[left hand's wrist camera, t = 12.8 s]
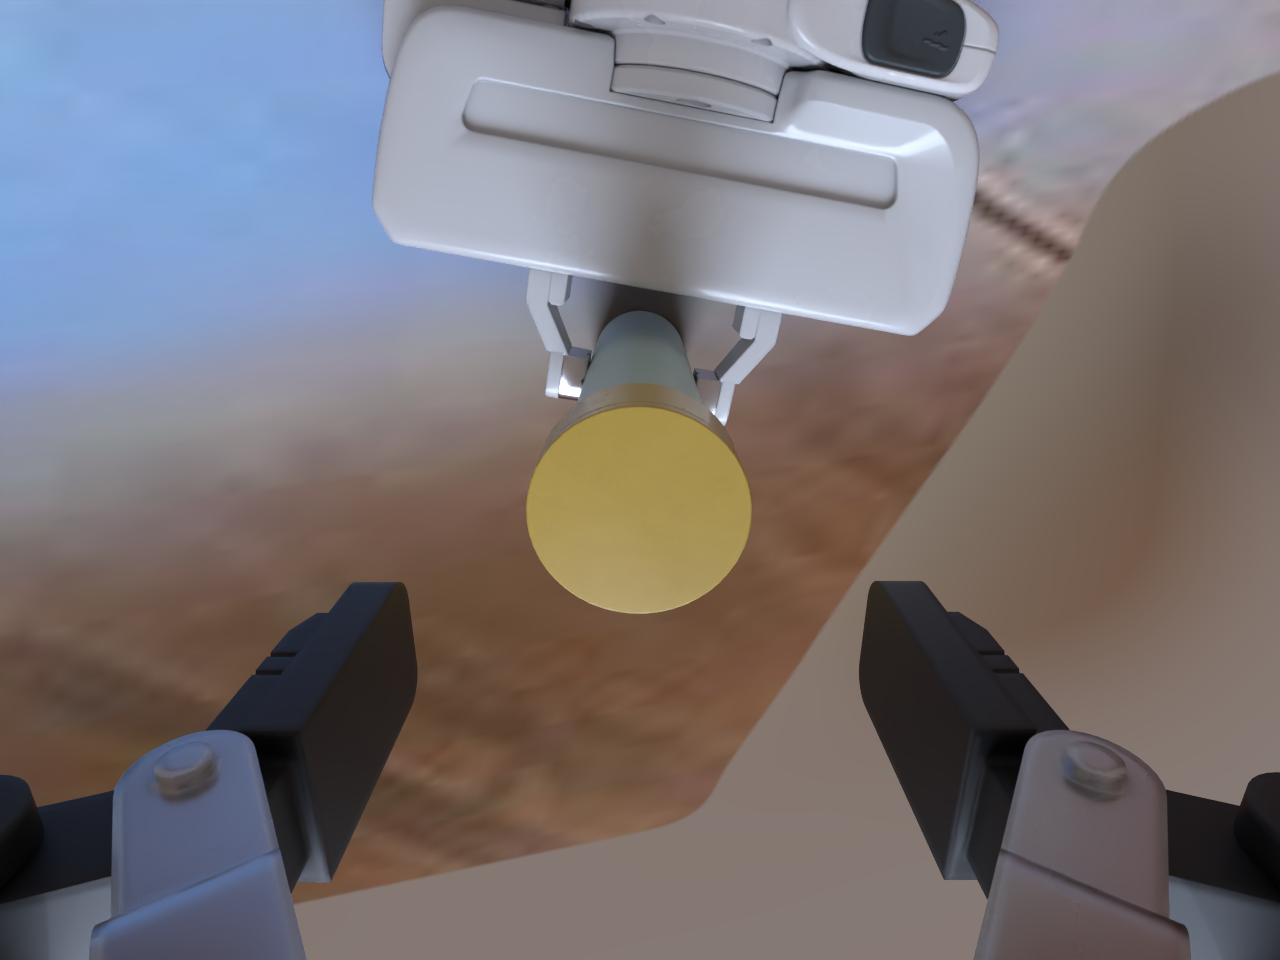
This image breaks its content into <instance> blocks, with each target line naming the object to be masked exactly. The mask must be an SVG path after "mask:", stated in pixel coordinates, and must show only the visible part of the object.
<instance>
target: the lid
mask: <svg viewBox="0 0 1280 960" xmlns="http://www.w3.org/2000/svg"><path fill="white" fill-rule="evenodd" d="M526 518H527V525H528V530H529V535H530V538H531V541H532V544H533V547H534V549H535V551H536V553H537V555H538V557H539V559H540V560H541V562H542V563H543V565H544V566H545V567H546V569H547V570H548V571H549V573H550V574H551V575H552V576H553V577H554V578H555V579H556V580H557V581H558V582H559V583H560V584H561V585H562V586H563V587H565V588H566V589H567V590H568V591H570V592H571V593H573V594H574V595H576V596H577V597H579V598H581V599H583V600H585V601H587V602H589V603H591V604H593V605H596V606H599V607H601V608H604V609H608V610H612V611H617V612H624V613H654V612H661V611H666V610H670V609H674V608H677V607H680V606H682V605H685V604H687V603H689V602H691V601H694V600H696V599H698V598H699V597H701V596H702V595H704V594H705V593H707V592H709V591H710V590H711V589H712V588H714V587H715V586H716V585H717V584H718V583H719V582H721V580H722V579H723V578H724V577H725V576H726V575H727V574H728V573H729V572H730V570H731V569H732V568H733V566H734V565H735V563H736V562H737V560H738V559H739V557H740V555H741V553H742V551H743V549H744V547H745V544H746V541H747V538H748V535H749V531H750V526H751V518H752V501H751V493H750V488H749V484H748V480H747V478H746V475H745V472H744V470H743V467H742V465H741V462H740V459H739V457H738V454H737V452H736V449H735V447H734V444H733V442H732V440H731V438H730V436H729V434H728V432H727V430H726V429H725V427H724V426H723V425H722V423H721V422H720V421H719V419H718V418H717V417H716V416H715V415H714V414H713V413H712V412H711V411H710V410H709V409H708V408H707V407H706V406H704V405H703V404H702V403H700V402H699V401H698V400H696V399H694V398H693V397H691V396H689V395H688V394H685V393H683V392H681V391H678V390H676V389H673V388H670V387H666V386H662V385H657V384H650V383H629V384H620V385H616V386H612V387H608V388H605V389H602V390H600V391H597V392H595V393H593V394H591V395H589V396H587V397H586V398H584V399H582V400H581V401H579V402H578V403H577V404H575V405H574V406H573V407H571V408H570V409H569V410H568V411H567V412H566V413H565V414H564V415H563V416H562V417H561V418H560V420H559V421H558V422H557V424H556V425H555V426H554V428H553V429H552V431H551V433H550V435H549V436H548V438H547V440H546V443H545V445H544V448H543V450H542V453H541V455H540V458H539V460H538V462H537V465H536V467H535V470H534V472H533V475H532V477H531V480H530V484H529V488H528V492H527V501H526Z"/></svg>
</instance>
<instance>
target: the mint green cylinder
mask: <svg viewBox="0 0 1280 960" xmlns="http://www.w3.org/2000/svg"><path fill="white" fill-rule="evenodd" d="M629 383H650V384H657V385H662V386H666V387H670V388H673V389H676V390H678V391H681V392H683V393H685V394H688V395H689V396H691V397H693V398H694V399H696V400H698V401H699V402H700V403H702V402H701V399H700V396H699V392H698V389H697V386H696V383H695V380H694V377H693V374H692V371H691V368H690V364H689V361H688V358H687V355H686V352H685V349H684V346H683V343H682V340H681V337H680V335H679V333H678V332H677V330H676V329H675V327H674V326H673V325H672V324H671V323H670V322H669V321H667V320H666V319H665V318H663V317H662V316H660V315H658V314H655V313H652V312H648V311H631V312H627V313H624V314H622V315H619V316H618V317H616V318H614V319H613V320H612V321H610V322H609V323H608V324H607V325H606V327H605V328H604V329H603V330H602V332H601V334H600V336H599V338H598V341H597V343H596V346H595V350H594V353H593V356H592V359H591V362H590V365H589V368H588V371H587V374H586V377H585V380H584V383H583V386H582V389H581V392H580V395H579V398H578V401H577V403H578V402H579V401H581V400H582V399H584V398H586V397H587V396H589V395H591V394H593V393H595V392H597V391H600V390H602V389H605V388H608V387H612V386H616V385H620V384H629Z"/></svg>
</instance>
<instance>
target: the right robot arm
mask: <svg viewBox="0 0 1280 960" xmlns="http://www.w3.org/2000/svg"><path fill="white" fill-rule="evenodd" d="M567 9H568V10H569V17H568V27H567ZM998 42H999V30H998V26H997V24H996V22H995V21H994V19H993V18H992V17H991V16H990V15H989V14H988V13H987V12H986V11H985V10H983V9H982V8H981V7H979V6H978V5H977V4H975V3H973V2H972V1H970V0H384V8H383V31H382V56H383V62H384V66H385V69H386V72H387V74H388V77H389V79H390V82H389V86H388V91H387V95H386V100H385V105H384V110H383V116H382V121H381V127H380V133H379V140H378V147H377V154H376V162H375V171H374V181H373V194H372V207H373V211H374V213H375V216H376V217H377V219H378V220H379V222H380V223H381V225H382V227H383V228H384V230H385V231H386V233H387V235H388V236H389V237H390V239H391V240H392V241H393V242H395V243H396V244H400V245H405V246H410V247H416V248H421V249H427V250H433V251H438V252H444V253H449V254H455V255H460V256H466V257H472V258H477V259H483V260H488V261H494V262H500V263H505V264H511V265H516V266H522V267H527V268H529V277H528V285H527V294H526V302H527V305H528V307H529V309H530V312H531V314H532V316H533V319H534V321H535V324H536V326H537V328H538V331H539V333H540V335H541V338H542V340H543V343H544V345H545V347H546V350H547V351H550V358H549V366H548V373H547V381H546V389H545V395H546V396H549V397H554V398H562V399H568V400H575V401H578V398H579V395H580V392H581V389H582V386H583V383H584V380H585V377H586V374H587V371H588V368H589V365H590V360H591V353H592V350H587V349H582V348H577V347H572V345H571V342H570V339H569V337H568V334H567V331H566V329H565V326H564V324H563V321H562V318H561V316H560V313H559V310H558V308H557V305H558V306H562V305H563V304H564V303H565V302H566V301H567V299H568V298H569V297H570V291H571V284H572V277H573V276H578V277H583V278H589V279H594V280H600V281H606V282H611V283H617V284H622V285H628V286H634V287H639V288H645V289H650V290H656V291H661V292H667V293H673V294H678V295H684V296H689V297H695V298H701V299H706V300H712V301H717V302H723V303H728V304H734V305H737V306H736V311H735V316H734V321H733V327H734V329H735V330H736V332H737V333H738V334H739V335H740V336H741V337H742V338H741V339H740V340H739V342H738V343H737V344H736V345H735V346H734V347H733V349H732V350H731V351H730V352H729V353H728V354H727V356H726V357H725V358H724V359H723V360H722V362H721V363H720V364H719V365H718V366H717V367H716V369H715V371H710V370H703V369H697V368H694V372H693V377H694V380H695V383H696V386H697V389H698V392H699V396H700V399H701V402H702V404H703V405H704V406H706V407H707V408H708V409H709V410H710V411H711V412H712V413H713V414H714V415H715V416H716V417H717V418H718V419H719V421H720V422H721V423H722V425H723V426H725V424H726V422H727V419H728V415H729V410H730V406H731V401H732V397H733V393H734V388H735V384H739V383H740V382H741V381H742V380H743V379H744V378H745V377H746V376H747V375H748V373H749V372H750V371H751V370H752V369H753V368H754V367H755V366H756V365H757V364H758V363H759V362H760V361H761V359H762V358H763V357H764V356H765V355H766V354H767V353H768V352H769V351H770V350H771V349H772V348H773V346H774V345H775V343H776V339H777V335H778V331H779V327H780V323H781V318H782V314H783V313H784V314H790V315H795V316H801V317H807V318H812V319H818V320H823V321H829V322H835V323H840V324H846V325H851V326H857V327H862V328H868V329H874V330H879V331H885V332H891V333H896V334H902V335H908V336H912V335H915V334H917V333H919V332H920V331H921V330H923V329H924V328H925V327H927V326H928V325H929V324H930V323H931V322H932V321H934V320H935V319H936V318H937V317H938V316H939V315H941V313H942V312H943V311H944V309H945V307H946V305H947V302H948V300H949V297H950V294H951V292H952V289H953V285H954V282H955V279H956V275H957V272H958V268H959V264H960V261H961V257H962V253H963V249H964V245H965V241H966V237H967V232H968V228H969V223H970V218H971V214H972V208H973V203H974V197H975V192H976V186H977V180H978V172H979V144H978V138H977V134H976V131H975V128H974V126H973V124H972V122H971V120H970V118H969V117H968V116H967V114H966V113H965V112H964V111H963V110H962V109H961V108H960V107H959V106H958V105H956V104H955V103H953V102H954V101H956V100H958V99H961V98H963V97H965V96H966V95H968V94H970V93H971V92H973V91H975V90H976V89H977V88H979V87H980V86H981V85H982V83H983V82H984V81H985V79H986V77H987V75H988V73H989V71H990V69H991V66H992V64H993V61H994V58H995V53H996V51H997V47H998Z"/></svg>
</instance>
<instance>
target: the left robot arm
mask: <svg viewBox="0 0 1280 960" xmlns="http://www.w3.org/2000/svg"><path fill="white" fill-rule="evenodd" d="M859 681H860V689H861V694H862V699H863V702H864V705H865V707H866V709H867V711H868V714H869V716H870V718H871V720H872V722H873V725H874V727H875V729H876V731H877V733H878V736H879V738H880V740H881V742H882V744H883V747H884V749H885V751H886V753H887V755H888V757H889V760H890V762H891V764H892V766H893V769H894V771H895V773H896V775H897V777H898V779H899V782H900V784H901V786H902V788H903V790H904V793H905V795H906V797H907V799H908V801H909V804H910V806H911V808H912V810H913V812H914V815H915V817H916V819H917V821H918V823H919V826H920V828H921V830H922V832H923V834H924V837H925V839H926V841H927V843H928V845H929V848H930V850H931V852H932V854H933V856H934V859H935V861H936V863H937V865H938V867H939V870H940V872H941V874H942V876H943V878H944V880H978V882H979V884H980V886H981V888H982V890H983V892H984V894H985V896H986V898H987V900H988V901H987V906H986V910H985V914H984V918H983V922H982V926H981V930H980V935H979V939H978V943H977V947H976V951H975V955H974V959H973V960H1280V773H1279V772H1274V773H1265V774H1261V775H1258V776H1256V777H1254V778H1252V780H1251V781H1250V782H1249V783H1248V786H1247V788H1246V791H1245V794H1244V797H1243V799H1242V802H1241V805H1240V806H1237V805H1233V804H1228V803H1224V802H1219V801H1215V800H1210V799H1205V798H1201V797H1196V796H1192V795H1187V794H1183V793H1178V792H1173V791H1169V790H1166V789H1165V787H1164V785H1163V783H1162V781H1161V780H1160V778H1159V777H1158V775H1157V774H1156V773H1155V772H1154V771H1153V770H1152V769H1151V768H1150V767H1149V766H1148V765H1147V764H1146V763H1145V762H1143V761H1142V760H1141V759H1140V758H1138V757H1137V756H1135V755H1134V754H1133V753H1131V752H1129V751H1128V750H1126V749H1124V748H1122V747H1121V746H1119V745H1117V744H1114V743H1112V742H1110V741H1108V740H1105V739H1102V738H1100V737H1097V736H1094V735H1090V734H1087V733H1082V732H1077V731H1070V730H1069V728H1068V727H1067V726H1066V725H1065V724H1064V722H1063V721H1062V720H1061V719H1060V718H1059V716H1058V715H1057V714H1056V713H1055V712H1054V710H1053V709H1052V708H1051V707H1050V706H1049V704H1048V703H1047V702H1046V701H1045V700H1044V698H1043V697H1042V696H1041V695H1040V694H1039V692H1038V691H1037V690H1036V689H1035V687H1034V686H1033V685H1032V684H1031V683H1030V681H1029V680H1028V679H1027V678H1026V677H1025V675H1024V674H1023V673H1019V668H1018V667H1017V666H1016V665H1015V663H1014V662H1013V661H1012V660H1011V658H1010V657H1009V656H1008V655H1005V654H1004V650H1003V649H1002V648H1001V646H1000V645H999V644H998V643H997V642H996V640H995V639H994V638H993V637H992V636H991V634H990V633H989V632H988V631H987V630H986V629H985V628H983V627H981V626H980V625H978V624H977V623H975V622H973V621H972V620H970V619H969V618H967V617H966V616H964V615H963V614H961V613H959V612H947V611H946V610H945V608H944V607H943V606H942V605H941V603H940V602H939V601H938V599H937V598H936V597H935V595H934V594H933V593H932V592H931V590H930V589H929V588H928V586H927V585H926V584H925V583H924V582H922V581H875V582H873V583H872V585H871V587H870V589H869V593H868V600H867V608H866V615H865V623H864V631H863V639H862V647H861V655H860V664H859ZM416 686H417V661H416V653H415V646H414V638H413V630H412V622H411V614H410V607H409V599H408V593H407V590H406V587H405V585H404V584H403V583H401V582H354V583H352V584H351V585H350V586H349V587H348V588H347V590H346V591H345V592H344V594H343V595H342V596H341V597H340V599H339V600H338V601H337V603H336V604H335V605H334V606H333V608H332V609H331V610H330V612H329V613H316V614H315V615H313V616H312V617H310V618H309V619H307V620H305V621H304V622H302V623H301V624H299V625H298V626H296V627H295V628H293V629H291V630H290V631H288V633H287V634H286V635H285V636H284V637H283V639H282V640H281V641H280V642H279V643H278V645H277V646H276V647H275V648H274V649H273V650H272V652H271V656H270V657H267V658H266V659H265V660H264V661H263V662H262V664H261V665H260V666H259V667H258V668H257V670H256V674H255V675H252V676H251V677H250V678H249V679H248V680H247V682H246V683H245V684H244V685H243V686H242V688H241V689H240V690H239V691H238V692H237V693H236V695H235V696H234V697H233V698H232V699H231V701H230V702H229V703H228V704H227V705H226V707H225V708H224V709H223V710H222V711H221V713H220V714H219V715H218V716H217V717H216V719H215V720H214V721H213V722H212V723H211V725H210V726H209V727H208V728H207V729H206V731H203V732H198V733H193V734H190V735H186V736H183V737H180V738H177V739H175V740H172V741H170V742H168V743H166V744H163V745H161V746H159V747H158V748H156V749H154V750H152V751H151V752H149V753H147V754H146V755H145V756H143V757H142V758H140V759H139V760H138V761H136V762H135V763H134V764H133V765H132V766H131V767H130V768H129V769H128V770H127V771H126V772H125V773H124V774H123V775H122V777H121V778H120V780H119V781H118V783H117V785H116V787H115V789H114V790H113V791H109V792H105V793H101V794H97V795H92V796H88V797H83V798H78V799H74V800H69V801H65V802H60V803H56V804H51V805H47V806H42V807H37V806H36V804H35V801H34V798H33V796H32V793H31V790H30V788H29V785H28V784H27V783H26V782H25V781H24V780H22V779H20V778H18V777H14V776H10V775H0V960H306V955H305V951H304V947H303V943H302V939H301V935H300V930H299V926H298V922H297V918H296V914H295V910H294V906H293V901H292V897H291V893H292V891H293V889H294V887H295V885H296V883H297V882H331V880H332V878H333V876H334V874H335V871H336V869H337V867H338V865H339V863H340V861H341V858H342V856H343V854H344V852H345V850H346V848H347V845H348V843H349V841H350V839H351V837H352V835H353V832H354V830H355V828H356V826H357V824H358V822H359V819H360V817H361V815H362V813H363V811H364V809H365V806H366V804H367V802H368V800H369V798H370V796H371V793H372V791H373V789H374V787H375V785H376V783H377V780H378V778H379V776H380V774H381V772H382V770H383V767H384V765H385V763H386V761H387V759H388V757H389V754H390V752H391V750H392V748H393V746H394V744H395V741H396V739H397V737H398V735H399V733H400V731H401V728H402V726H403V724H404V722H405V720H406V718H407V715H408V713H409V711H410V709H411V707H412V704H413V701H414V697H415V692H416Z"/></svg>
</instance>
